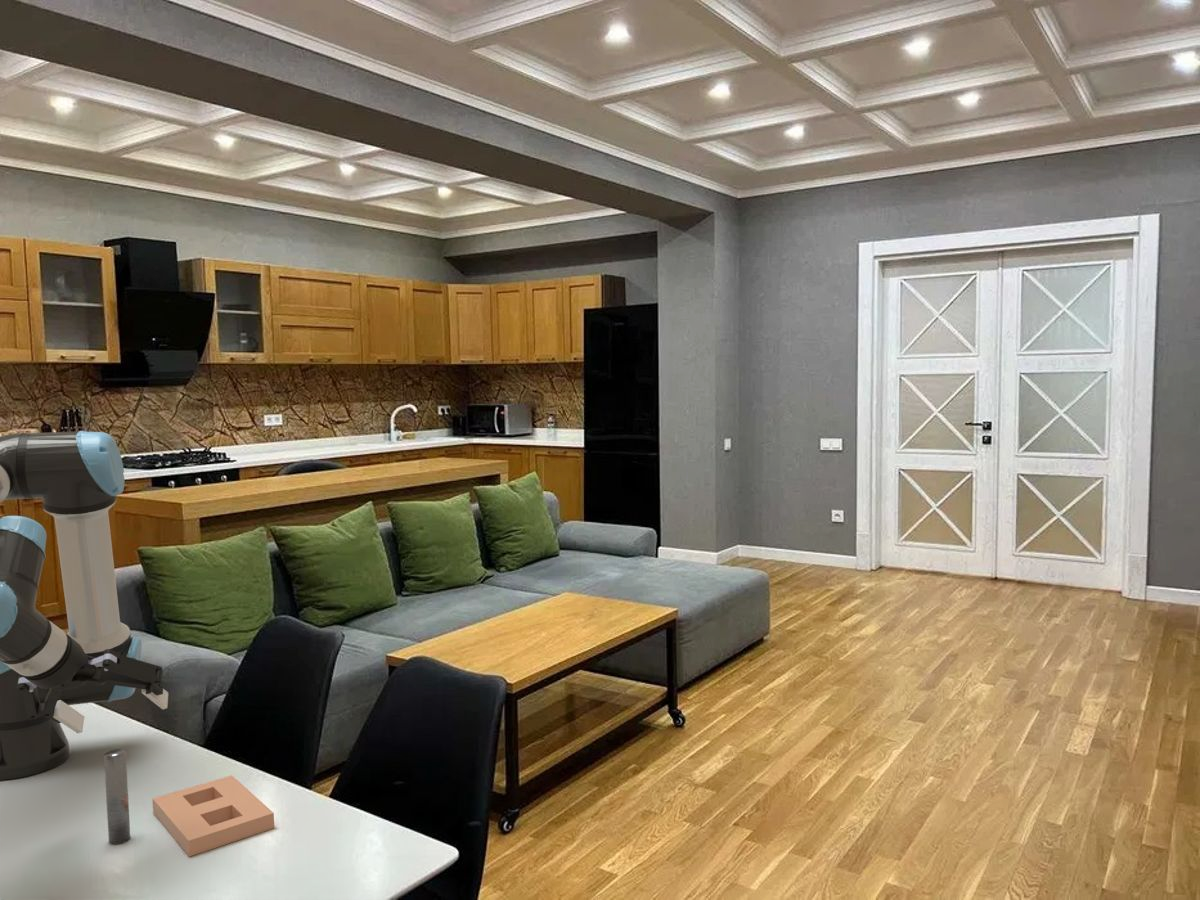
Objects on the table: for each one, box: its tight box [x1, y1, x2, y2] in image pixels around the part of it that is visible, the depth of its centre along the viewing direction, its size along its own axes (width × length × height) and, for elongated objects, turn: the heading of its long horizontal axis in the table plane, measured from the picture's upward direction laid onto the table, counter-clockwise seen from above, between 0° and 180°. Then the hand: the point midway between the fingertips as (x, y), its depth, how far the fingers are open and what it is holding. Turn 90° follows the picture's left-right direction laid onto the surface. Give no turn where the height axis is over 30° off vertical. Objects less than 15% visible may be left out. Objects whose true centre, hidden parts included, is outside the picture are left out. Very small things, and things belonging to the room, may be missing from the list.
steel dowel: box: [103, 748, 131, 845], centre depth 141 cm, size 3×3×14 cm
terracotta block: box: [152, 774, 275, 858], centre depth 147 cm, size 19×13×2 cm
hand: (123, 713), depth 144 cm, fingers open, 13 cm apart
